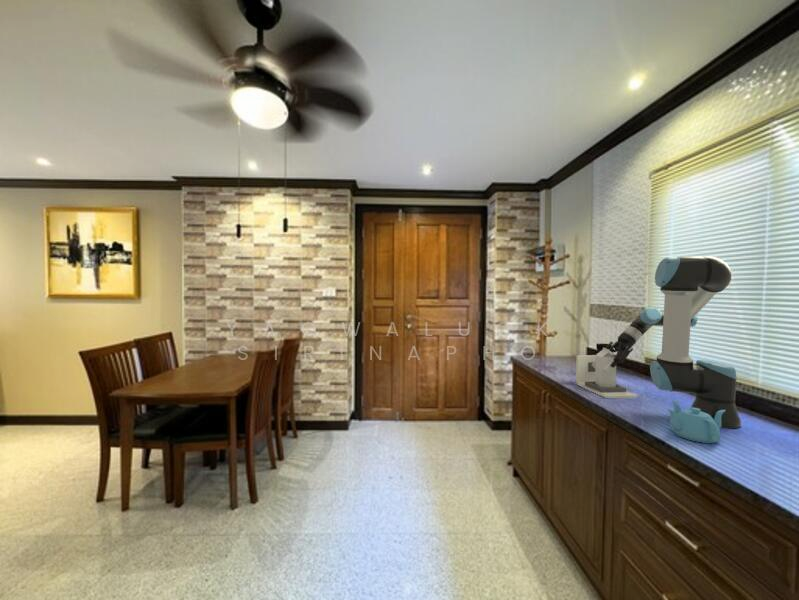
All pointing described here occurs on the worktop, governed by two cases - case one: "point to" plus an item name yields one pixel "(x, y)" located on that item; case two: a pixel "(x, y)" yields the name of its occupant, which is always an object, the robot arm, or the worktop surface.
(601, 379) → the milk carton
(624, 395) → the dock
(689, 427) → the teapot
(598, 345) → the flashlight
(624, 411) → the worktop surface
